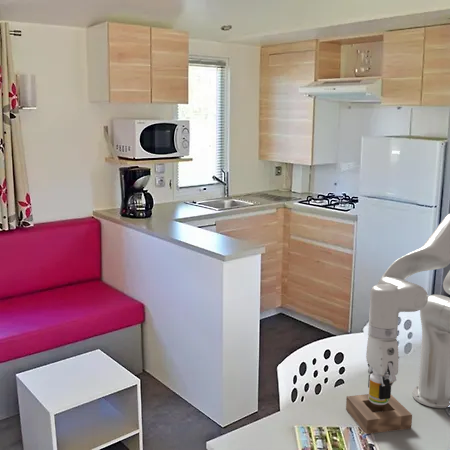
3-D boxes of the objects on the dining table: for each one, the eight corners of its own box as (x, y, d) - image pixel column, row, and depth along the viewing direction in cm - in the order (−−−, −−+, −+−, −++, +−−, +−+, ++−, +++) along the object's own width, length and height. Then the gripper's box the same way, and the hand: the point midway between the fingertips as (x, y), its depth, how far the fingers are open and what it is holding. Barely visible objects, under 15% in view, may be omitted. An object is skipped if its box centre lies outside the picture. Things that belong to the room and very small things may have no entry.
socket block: (387, 404, 162) (388, 391, 161) (411, 428, 150) (412, 414, 149) (345, 409, 159) (346, 396, 159) (366, 434, 147) (367, 420, 146)
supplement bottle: (389, 406, 150) (391, 373, 149) (368, 404, 151) (370, 371, 150) (387, 397, 156) (389, 364, 154) (367, 395, 157) (369, 362, 155)
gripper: (412, 341, 142) (407, 407, 146) (380, 318, 159) (376, 377, 162) (385, 344, 141) (381, 410, 144) (355, 320, 157) (352, 380, 161)
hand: (379, 392), depth 153 cm, fingers closed on supplement bottle, 5 cm apart
